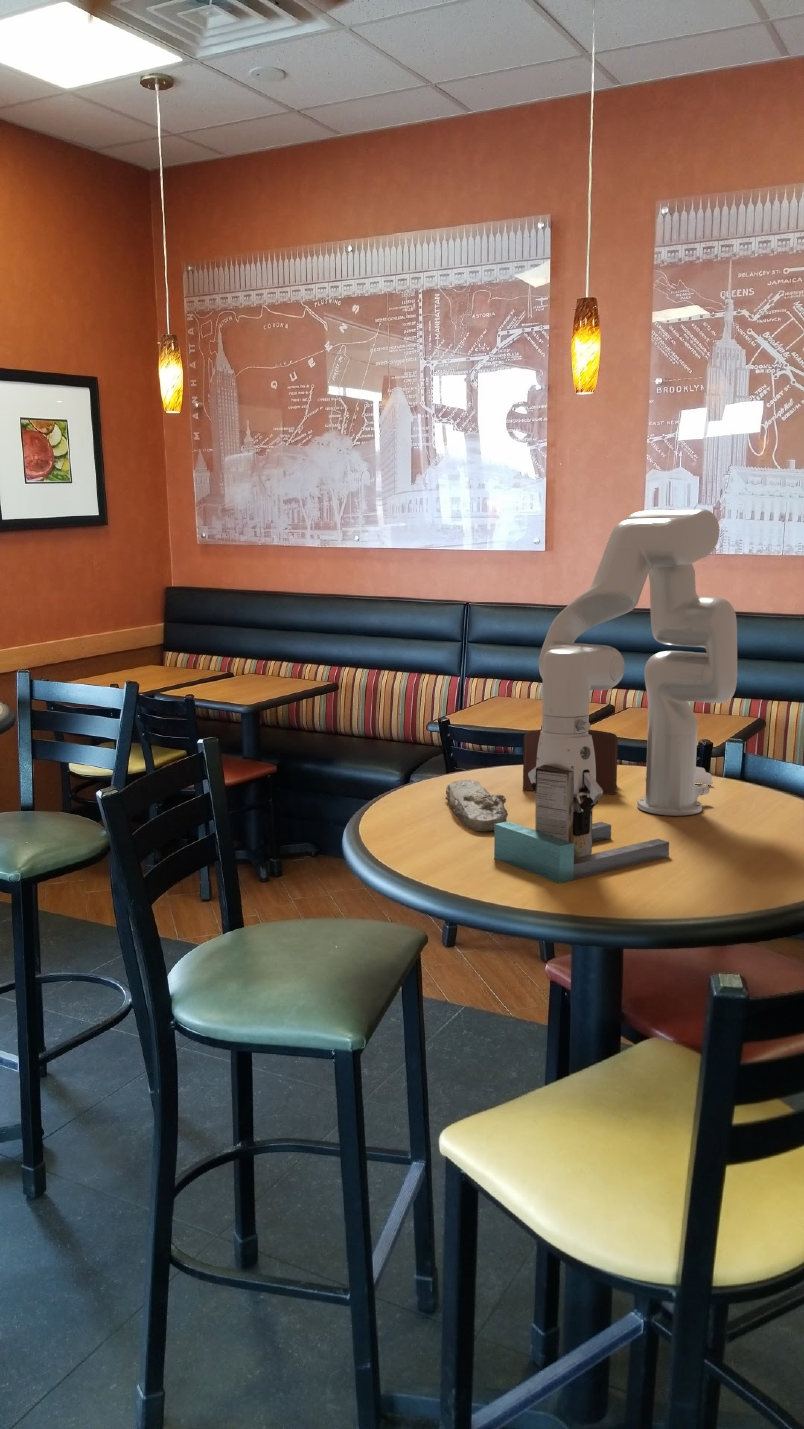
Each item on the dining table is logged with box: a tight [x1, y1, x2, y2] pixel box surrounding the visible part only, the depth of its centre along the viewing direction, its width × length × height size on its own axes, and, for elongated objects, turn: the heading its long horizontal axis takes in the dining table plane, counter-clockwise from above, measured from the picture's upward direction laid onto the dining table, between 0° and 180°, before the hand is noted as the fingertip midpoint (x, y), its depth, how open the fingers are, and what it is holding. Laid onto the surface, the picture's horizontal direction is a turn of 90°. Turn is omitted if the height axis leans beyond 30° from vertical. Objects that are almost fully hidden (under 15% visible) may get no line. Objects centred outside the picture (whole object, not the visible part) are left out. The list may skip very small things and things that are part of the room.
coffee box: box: [534, 765, 594, 858], centre depth 172 cm, size 9×6×16 cm
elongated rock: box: [445, 779, 509, 832], centre depth 207 cm, size 35×5×10 cm
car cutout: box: [695, 766, 713, 786], centre depth 230 cm, size 15×7×4 cm, turn 59°
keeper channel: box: [493, 820, 670, 884], centre depth 175 cm, size 25×16×6 cm, turn 124°
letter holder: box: [522, 728, 619, 796], centre depth 225 cm, size 10×20×14 cm, turn 79°
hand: (563, 828), depth 172 cm, fingers closed on coffee box, 7 cm apart
